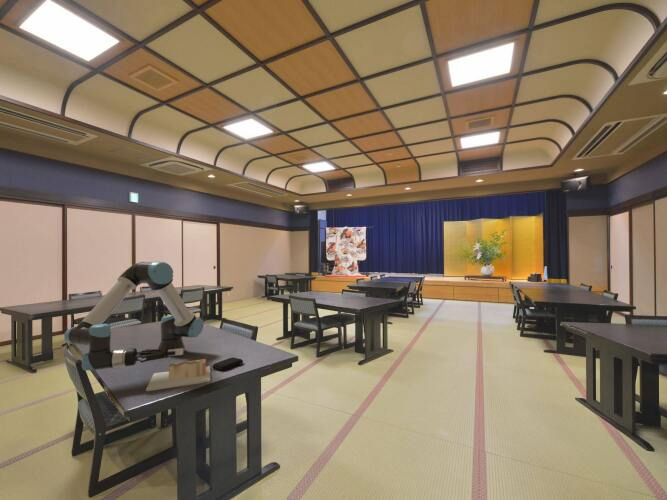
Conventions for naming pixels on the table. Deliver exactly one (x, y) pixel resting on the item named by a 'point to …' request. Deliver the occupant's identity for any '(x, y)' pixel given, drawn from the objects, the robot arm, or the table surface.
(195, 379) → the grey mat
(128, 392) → the table surface
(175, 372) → the birch block
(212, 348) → the table surface
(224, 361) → the carrying case or bag
